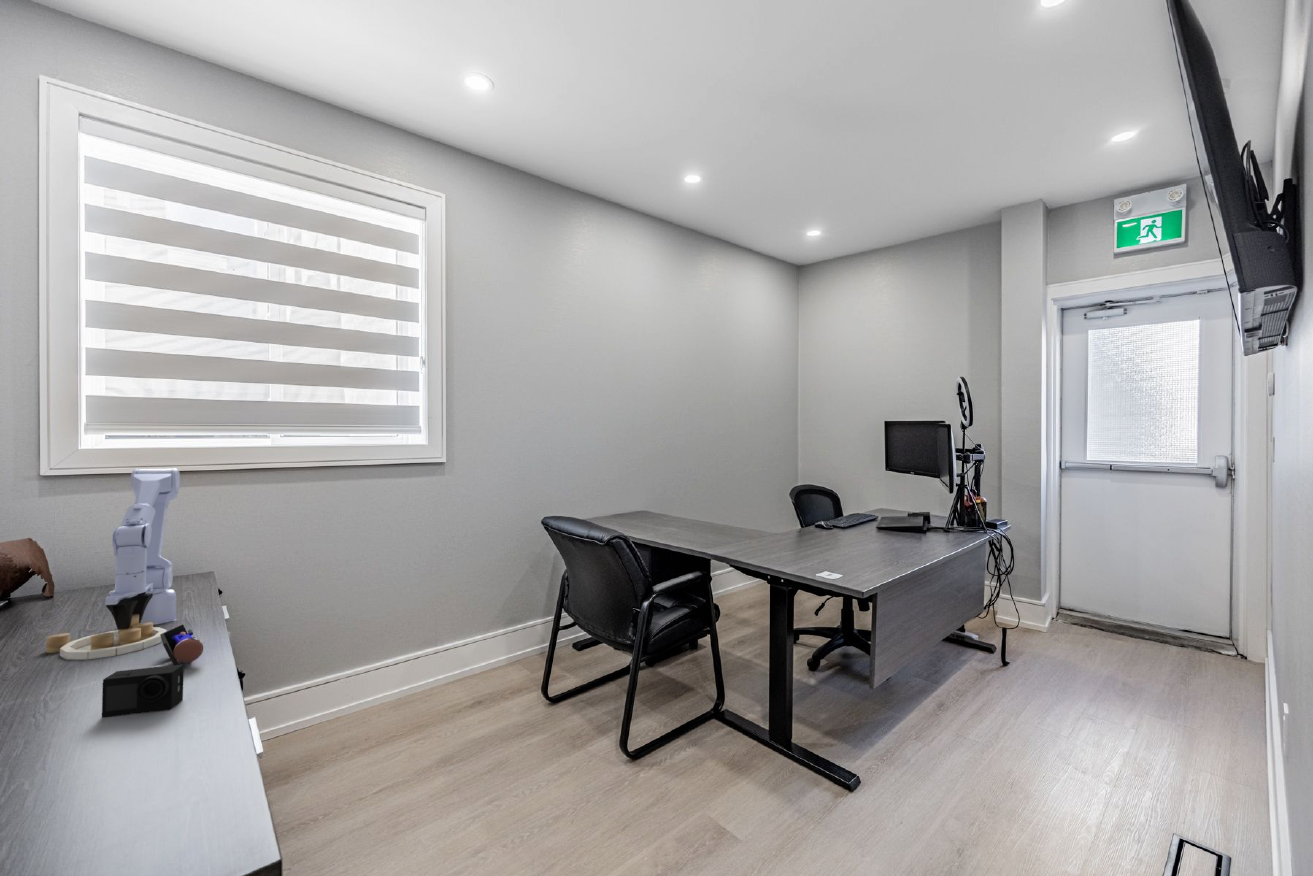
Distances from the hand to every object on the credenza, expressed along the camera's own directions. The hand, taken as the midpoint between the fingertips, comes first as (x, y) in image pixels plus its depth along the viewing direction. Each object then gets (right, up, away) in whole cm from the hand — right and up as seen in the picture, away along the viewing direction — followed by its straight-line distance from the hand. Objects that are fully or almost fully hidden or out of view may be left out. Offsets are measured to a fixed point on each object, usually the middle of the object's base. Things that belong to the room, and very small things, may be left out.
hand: (129, 626), depth 138 cm
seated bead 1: (+2, -3, -9) cm, 10 cm away
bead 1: (-10, -4, -8) cm, 13 cm away
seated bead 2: (+6, -3, -6) cm, 9 cm away
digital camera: (+38, -3, -37) cm, 54 cm away
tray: (+1, -4, -5) cm, 6 cm away
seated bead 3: (+5, -3, -1) cm, 6 cm away
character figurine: (+25, -4, -14) cm, 29 cm away
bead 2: (0, -2, 0) cm, 2 cm away
